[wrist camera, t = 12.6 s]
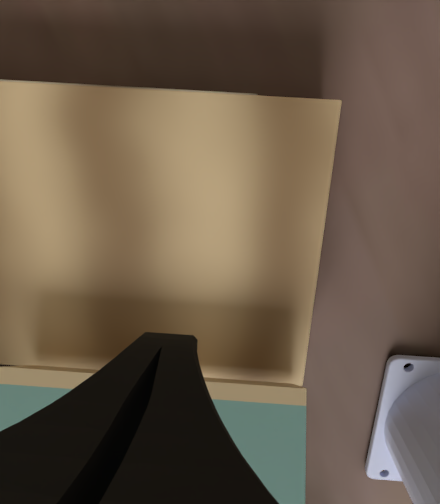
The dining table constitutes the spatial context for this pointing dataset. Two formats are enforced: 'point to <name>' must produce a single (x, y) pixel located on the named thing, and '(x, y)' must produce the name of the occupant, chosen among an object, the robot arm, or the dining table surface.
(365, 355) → the dining table surface
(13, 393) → the side flap
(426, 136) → the dining table surface
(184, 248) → the carton
